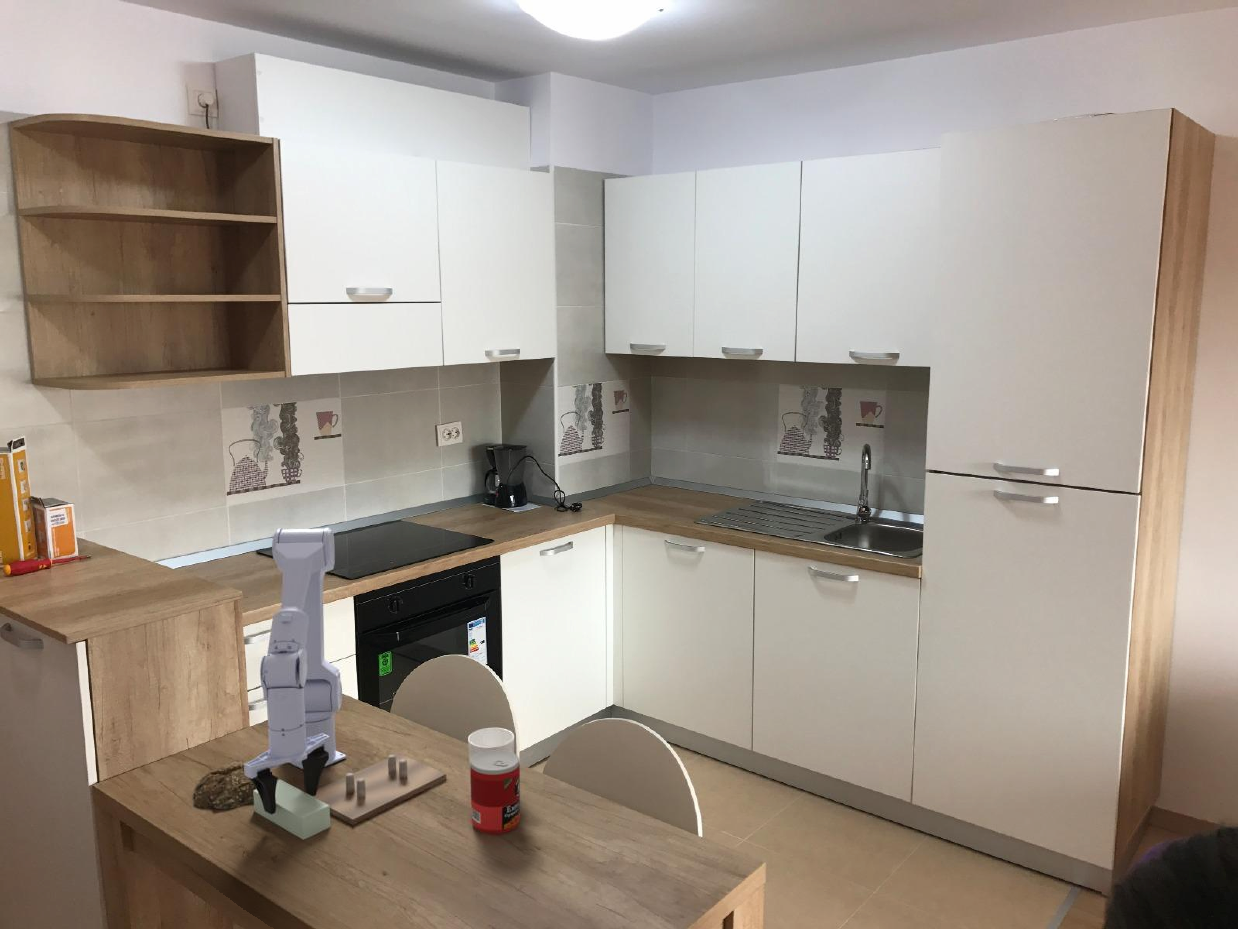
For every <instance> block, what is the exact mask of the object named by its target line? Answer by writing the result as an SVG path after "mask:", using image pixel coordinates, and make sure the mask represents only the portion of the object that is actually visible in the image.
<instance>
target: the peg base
mask: <svg viewBox="0 0 1238 929" xmlns="http://www.w3.org/2000/svg"><path fill="white" fill-rule="evenodd" d="M443 780H444V781H445V780H447V774H446V773H444V772H442V771H440V770H438V769H435V768H433V767H431V766H429V765H426V764H424V763H422V762H420V761H417V760H415V759H413V758H410V757H408V756H405V755H404V754H402V753H397V754H389V755H388V756H387V758H385V759H383V760H380V761H378V762H376V763H373V764H371V765H369V766H367V767H365V768H362V769H361V770H357V772H354V773H352V772H348V773H346V774H345V777H342V778H340V779H337V780H335V781H333V782H331V783H328V784H326V785H324V786H322V787H318V788H317V793H316V795H315V796H312V797H314V798H316V799H318V800H320V801H322V802H324V803H326V804H327V805H329V807H330V815H333V816H335V817H337V818H338V819H340V820H341V821H342V820H343V821H345V822H346V821H347V823H349V825H351V826H354V825H357V824H359V823H360V821H361V822H363V821H364V819H365V820H367V819H369V818H371V817H373V816H374V815H373V814H375V815H377V814H378V812H379V811H381V812H383V811H386V810H387V809H389V808H391V807H393V806H395V805H398V804H400V803H401V802H403V801H406V800H407V799H409V798H411V797H413V796H415V795H417V794H420V793H422V792H423V791H422V790H424V791H425V789H426V790H427V789H429V787H430V788H431V787H433V786H436V785H437V784H440V783H442V782H443ZM435 784H436V785H435ZM421 791H422V792H421ZM419 792H420V793H419ZM414 794H415V795H414ZM310 796H311V795H310ZM408 797H409V798H408ZM406 798H407V799H406ZM400 801H401V802H400ZM394 804H395V805H394ZM392 805H393V806H392ZM390 806H391V807H390ZM386 808H387V809H386ZM376 813H377V814H376ZM379 813H380V812H379ZM372 815H373V816H372ZM366 818H367V819H366ZM358 822H359V823H358Z"/></svg>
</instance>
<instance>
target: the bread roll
mask: <svg viewBox="0 0 1238 929" xmlns="http://www.w3.org/2000/svg"><path fill="white" fill-rule="evenodd" d="M247 762H249V761H244V760H242V761H238V760H237V761H236V760H235V761H234V762H230V763H228V764H224V765H222V766H219V767H216V768H214V769H211V771H209V772H207V773H206V774H204V775H203V776H202V777H201V778H200V780H198V782H196V785H195V788H194V790H193V791H194V793H195V799H194V805H195V806H196V808H197V807H198V808H201V809H211V808H214V809H216V810H227V809H235V808H239V807H241V806H242V807H243V806H245V805H250V804H254V795H253V791H254V790H256V787H255V786H254V784H253V783H252V781H251V780H250V778H249V777H247V776H245V772H244V764H245V763H247Z"/></svg>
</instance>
